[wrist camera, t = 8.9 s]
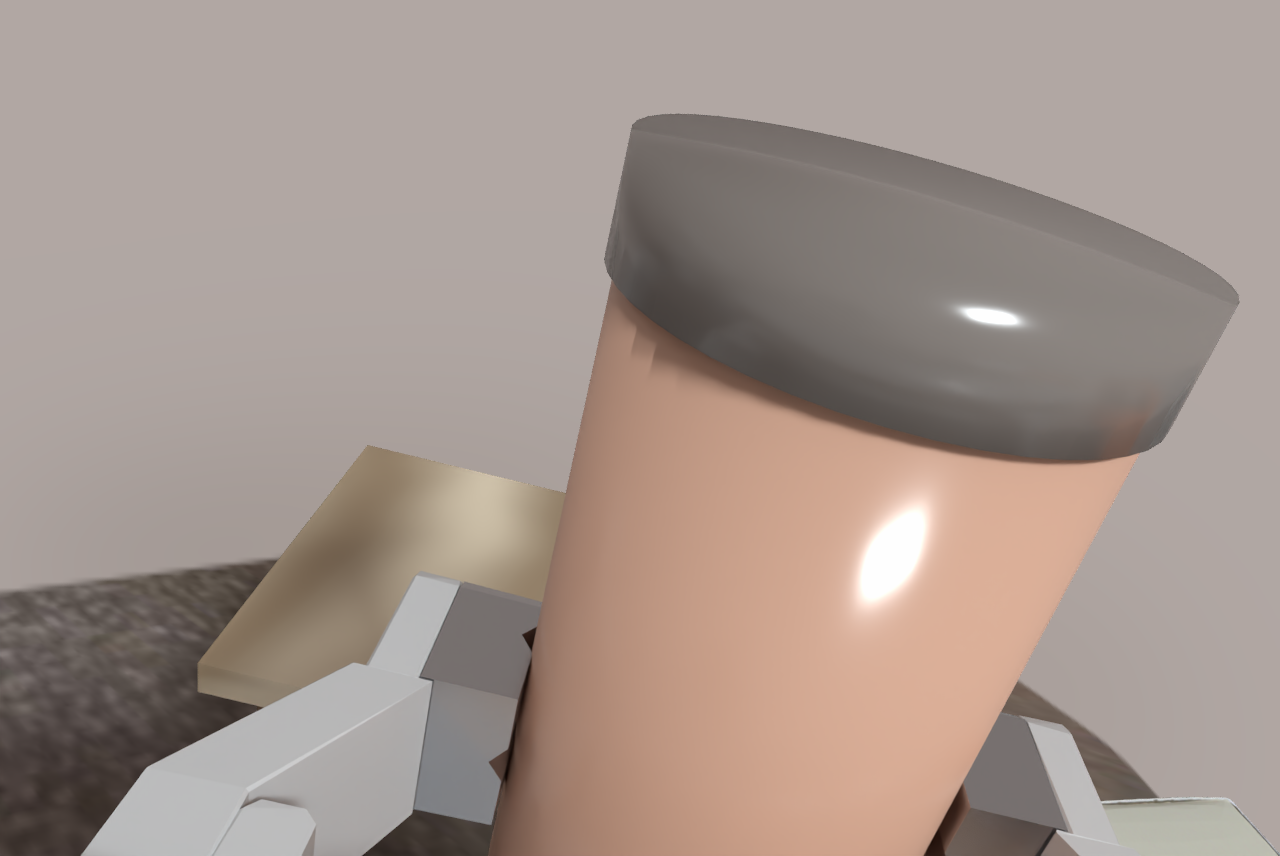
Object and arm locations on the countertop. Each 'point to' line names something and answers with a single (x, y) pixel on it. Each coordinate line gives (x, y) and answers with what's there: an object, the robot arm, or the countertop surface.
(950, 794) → the spice jar
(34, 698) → the countertop surface
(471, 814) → the robot arm
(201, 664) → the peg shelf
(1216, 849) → the skincare box
